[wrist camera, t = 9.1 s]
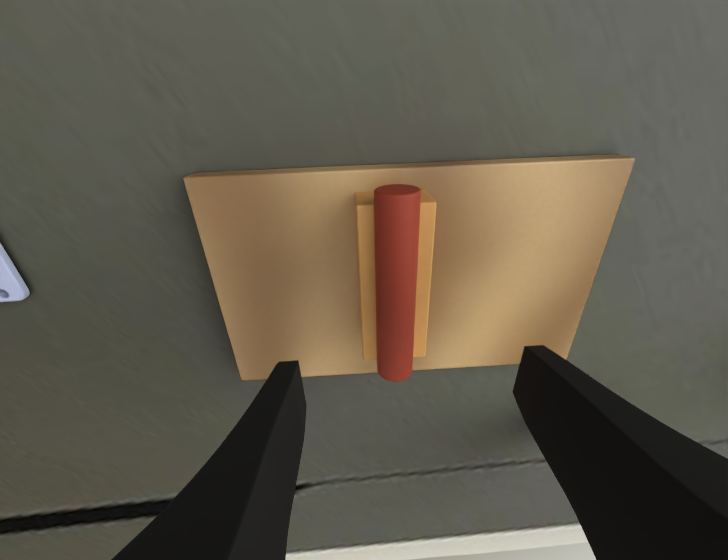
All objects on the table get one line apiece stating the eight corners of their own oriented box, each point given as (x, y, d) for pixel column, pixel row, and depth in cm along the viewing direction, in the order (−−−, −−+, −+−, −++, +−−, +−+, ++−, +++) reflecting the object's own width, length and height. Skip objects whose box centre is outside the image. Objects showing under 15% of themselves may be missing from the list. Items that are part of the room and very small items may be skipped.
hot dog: (361, 342, 19) (364, 384, 16) (353, 177, 14) (355, 196, 12) (417, 339, 19) (429, 380, 16) (426, 174, 15) (445, 192, 12)
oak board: (246, 367, 21) (241, 381, 20) (193, 172, 15) (181, 177, 14) (555, 348, 21) (566, 361, 20) (617, 153, 16) (636, 157, 15)
